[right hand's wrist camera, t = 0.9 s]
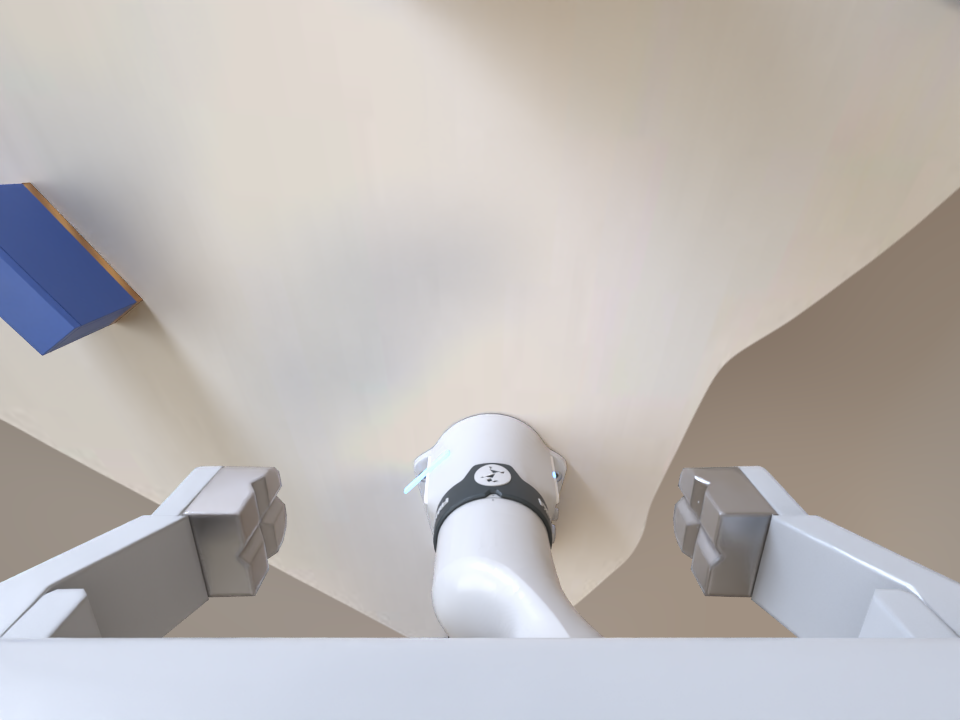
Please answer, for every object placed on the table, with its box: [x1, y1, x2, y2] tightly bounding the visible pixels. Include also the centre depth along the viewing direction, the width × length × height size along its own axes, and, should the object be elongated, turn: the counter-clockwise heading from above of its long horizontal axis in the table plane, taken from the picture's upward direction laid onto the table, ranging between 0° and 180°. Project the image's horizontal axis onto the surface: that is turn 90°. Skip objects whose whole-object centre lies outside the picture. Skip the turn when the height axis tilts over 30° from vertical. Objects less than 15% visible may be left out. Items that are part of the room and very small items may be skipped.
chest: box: [0, 183, 142, 352], centre depth 51 cm, size 15×5×9 cm, turn 35°
